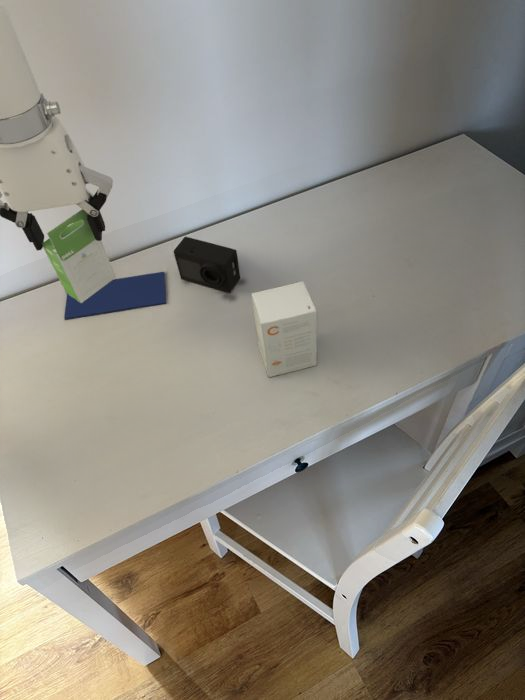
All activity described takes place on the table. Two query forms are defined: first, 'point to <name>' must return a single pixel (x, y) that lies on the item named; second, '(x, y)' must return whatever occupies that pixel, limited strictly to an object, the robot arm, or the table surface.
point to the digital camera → (207, 264)
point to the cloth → (120, 296)
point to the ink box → (78, 257)
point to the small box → (285, 328)
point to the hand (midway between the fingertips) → (70, 238)
